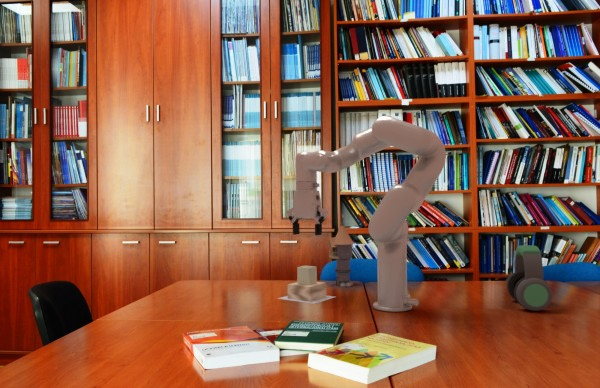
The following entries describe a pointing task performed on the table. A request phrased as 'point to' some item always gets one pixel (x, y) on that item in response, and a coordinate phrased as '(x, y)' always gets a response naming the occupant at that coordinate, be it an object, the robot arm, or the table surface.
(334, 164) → the robot arm
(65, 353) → the table surface
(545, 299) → the headphones
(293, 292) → the block
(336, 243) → the model tower
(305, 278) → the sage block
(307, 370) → the table surface
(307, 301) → the board
